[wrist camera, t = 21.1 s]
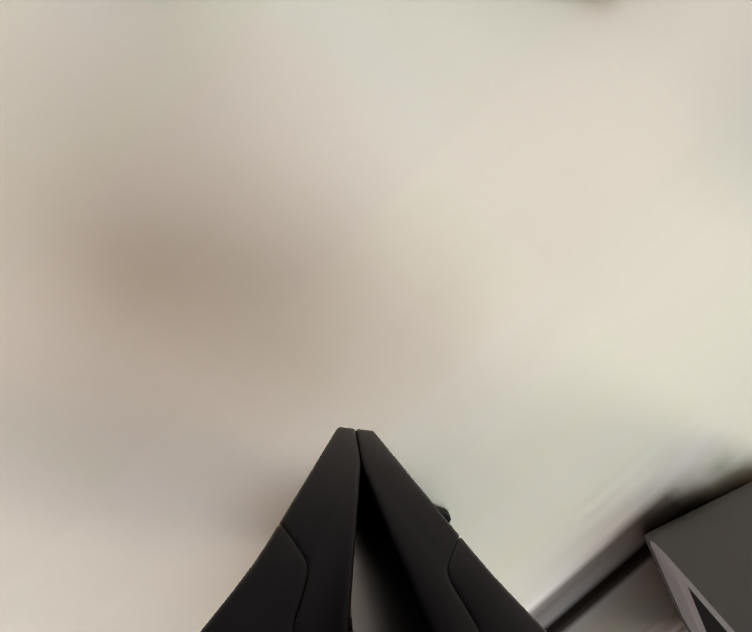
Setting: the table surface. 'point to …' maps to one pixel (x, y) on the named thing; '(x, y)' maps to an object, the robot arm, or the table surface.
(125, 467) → the table surface
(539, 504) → the table surface
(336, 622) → the robot arm
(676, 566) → the alarm clock
